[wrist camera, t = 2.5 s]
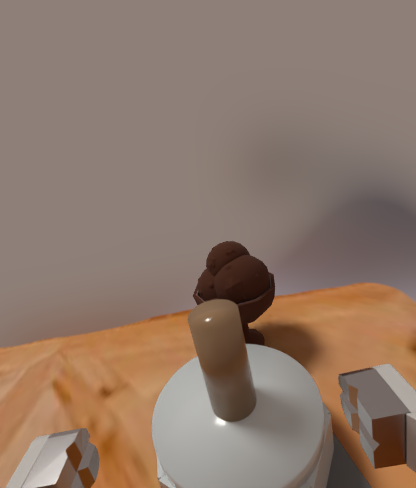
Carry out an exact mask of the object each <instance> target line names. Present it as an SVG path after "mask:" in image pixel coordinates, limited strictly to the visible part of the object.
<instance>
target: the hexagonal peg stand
mask: <svg viewBox="0 0 416 488" xmlns="http://www.w3.org/2000/svg"><path fill="white" fill-rule="evenodd" d="M188 323H189V326H190V330H191V334H192V337H193V341H194V345H195V348H196V352H197V357H195V358H194V359H192V360H190V361H189V362H188V363H186V364H185V365H184V366H182V367H181V368H180V369H179V370H178V371H177V372H176V373H175V374H174V375H173V376H172V377H171V378H170V380H169V381H168V382H167V384H166V385H165V387H164V388H163V390H162V391H161V393H160V395H159V398H158V400H157V402H156V405H155V409H154V413H153V418H152V438H153V443H154V447H155V451H156V453H157V471H158V480H159V482H160V485H161V488H326V486H327V481H328V476H329V471H330V466H331V462H332V457H333V452H334V443H333V432H332V422H331V415H330V411H329V410H328V409H327V407H326V406H325V405H324V403H323V402H322V399H321V395H320V392H319V389H318V387H317V385H316V383H315V381H314V380H313V378H312V377H311V375H310V374H309V373H308V371H307V370H306V369H305V368H304V367H303V366H302V365H301V364H300V363H298V362H297V361H296V360H295V359H293V358H292V357H290V356H289V355H287V354H285V353H283V352H281V351H278V350H276V349H273V348H270V347H266V346H262V345H255V344H245V339H244V334H243V329H242V324H241V319H240V314H239V309H238V306H237V305H236V304H235V303H234V302H232V301H230V300H225V299H216V300H210V301H207V302H204V303H202V304H200V305H198V306H196V307H195V308H194V309H192V311H191V312H190V313H189V315H188Z"/></svg>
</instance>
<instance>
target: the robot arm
mask: <svg viewBox="0 0 416 488" xmlns="http://www.w3.org/2000/svg"><path fill="white" fill-rule="evenodd" d="M338 379H339V385H340V387H341V388H342V390H343V392H342V393H341V395H340V398H341V404H342V408H343V411H344V414H345V416H346V418H347V421H348V423H349V424H350V426H351V428H352V430H354V431H355V432H357V433H358V434H360V442H361V446H362V448H363V449H364V451H365V453H366V455H367V456H368V458H369V460H370V462H371V463H372V465H373V467H374V469H377V468H383V467H389V466H395V465H402V464H407V466H408V467H409V468H410V469H412V470H413V471H414V472H416V391H415V390H414V389H413V388H412V387H411V385H410V384H409V383H408V382H407V381H406V380H405V379H404V378H403V377H402V376H401V375H400V374H399V373H398V372H397V370H396V369H395V368H394V367H393V366H392V365H390V364H384V365H379V366H375V367H371V368H365V369H361V370H356V371H352V372H347V373H343V374H339V377H338ZM89 438H90V434H89V433H88V431H87V429H86V428H82V429H76V430H71V431H65V432H59V433H54V434H50V435H44V436H39V437H37V438H36V439H35V440H34V441H33V442H32V443H31V445H30V447H29V448H28V450H27V452H26V454H25V455H24V457H23V459H22V460H21V462H20V464H19V466H18V467H17V469H16V471H15V473H14V474H13V476H12V478H11V480H10V481H9V483H8V485H7V486H6V488H90V487H91V486H92V485H93V484H94V482H95V480H96V477H97V474H98V469H99V455H98V451H97V449H96V446H95V445H93V444H91V443H90V442H88V441H89Z"/></svg>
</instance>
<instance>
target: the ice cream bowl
mask: <svg viewBox="0 0 416 488" xmlns="http://www.w3.org/2000/svg"><path fill="white" fill-rule="evenodd" d="M206 267H207V269H206V270H204V272H203V273H202V275H201V277H200V278H199V279H198V284H197V287H196V289H195V292H194V294H193V297H194V299H195V301H196V303H197V305H200V304H202V303H204V302H207V301H210V300H216V299H225V300H230V301H232V302H234V303H235V304H236V305H237V306H238V309H239V314H240V319H241V324H242V329H243V334H244V339H245V344H255V345H262V346H264V337H263V335H262V334H261V333H259V332H258V331H257V330H256V329H249V327H248V323H251V322H254V321H255V320H256V319H257V318H258V317H259V316H261V315H262V314H263V313H264V312H265V311H266V310H267V309H268V308H269V307H270V306H271V305H272V302H273V299H274V295H275V283H274V275H273V274H271V273H269V272H268V269H267V267H266V266H265V265H264V263H263V262H262V261H260V260H259V259H257V258H255V257H253V256H250V254H249V252H248V251H247V249H246V248H245V247H244V246H242V245H241V244H239V243H236V242H233V241H230V242H228V241H226V242H223V243H220V244H218V245H217V246H215V247H213V248H212V250H211V252H210V253H209V255H208V258H207V262H206Z"/></svg>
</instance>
